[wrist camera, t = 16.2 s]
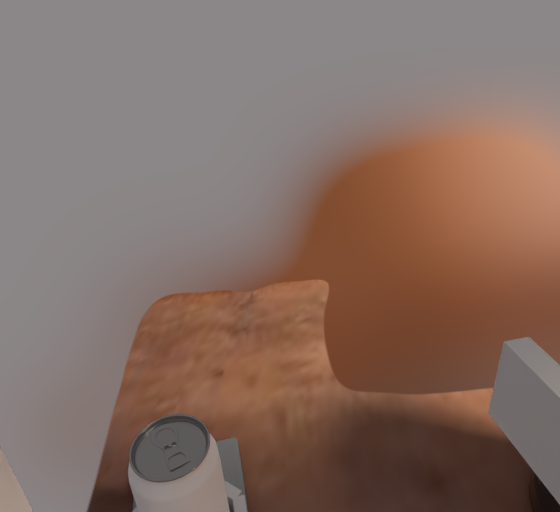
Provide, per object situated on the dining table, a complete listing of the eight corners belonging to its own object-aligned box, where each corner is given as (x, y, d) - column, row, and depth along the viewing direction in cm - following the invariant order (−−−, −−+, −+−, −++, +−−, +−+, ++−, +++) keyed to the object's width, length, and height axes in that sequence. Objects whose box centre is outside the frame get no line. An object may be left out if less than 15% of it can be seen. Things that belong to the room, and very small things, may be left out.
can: (213, 492, 42) (194, 396, 36) (248, 554, 37) (232, 454, 31) (144, 533, 39) (111, 435, 33) (171, 606, 34) (138, 506, 29)
